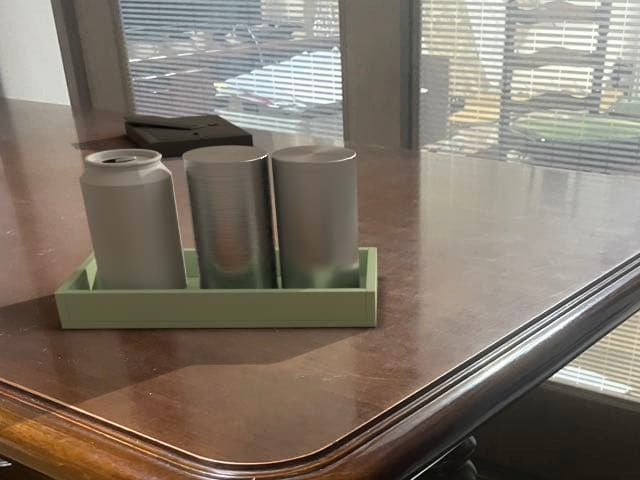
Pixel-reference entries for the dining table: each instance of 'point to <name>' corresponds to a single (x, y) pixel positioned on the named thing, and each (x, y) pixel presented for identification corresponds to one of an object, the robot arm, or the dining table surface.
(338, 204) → the can
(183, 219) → the dining table surface
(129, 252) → the can
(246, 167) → the can
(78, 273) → the tray
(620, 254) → the dining table surface
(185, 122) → the picture frame
